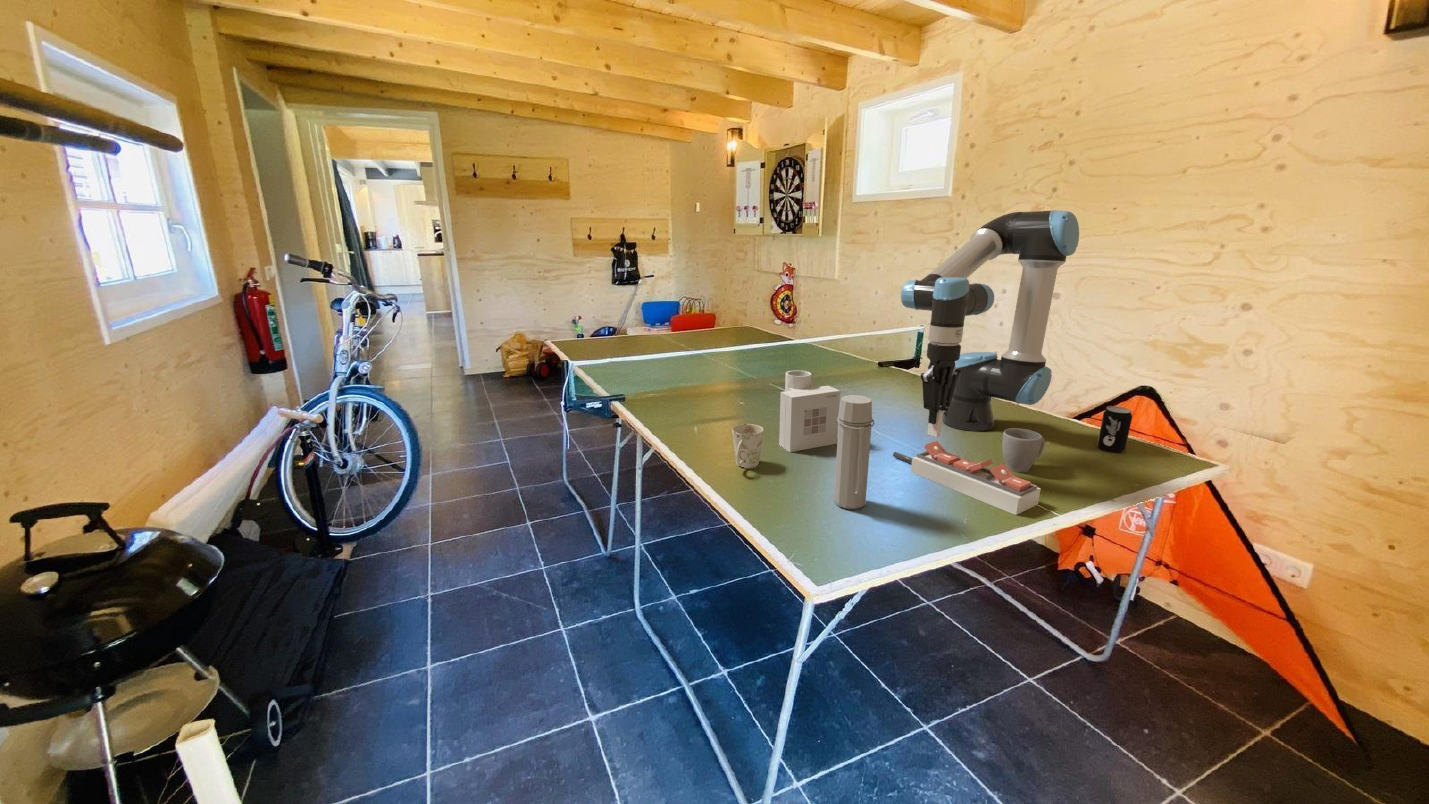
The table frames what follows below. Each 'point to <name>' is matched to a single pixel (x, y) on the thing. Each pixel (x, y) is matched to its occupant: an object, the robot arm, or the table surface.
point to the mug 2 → (1021, 448)
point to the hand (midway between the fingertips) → (933, 434)
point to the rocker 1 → (940, 453)
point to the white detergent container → (807, 413)
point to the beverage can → (1114, 429)
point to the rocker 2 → (1009, 478)
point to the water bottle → (853, 451)
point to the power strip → (973, 483)
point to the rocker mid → (971, 465)
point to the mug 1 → (747, 444)
